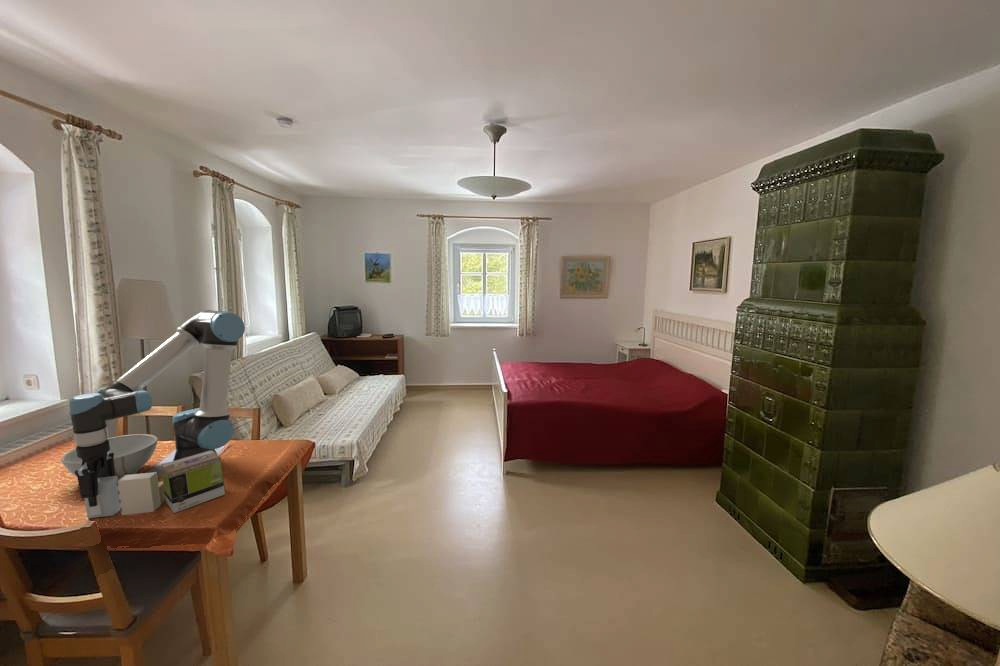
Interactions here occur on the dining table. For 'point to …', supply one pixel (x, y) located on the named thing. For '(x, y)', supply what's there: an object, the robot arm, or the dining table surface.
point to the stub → (106, 497)
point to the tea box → (192, 480)
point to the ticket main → (140, 493)
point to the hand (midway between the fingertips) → (102, 509)
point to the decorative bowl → (120, 454)
